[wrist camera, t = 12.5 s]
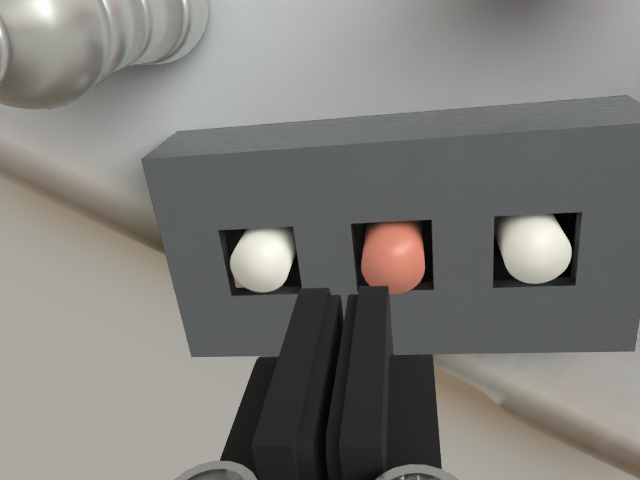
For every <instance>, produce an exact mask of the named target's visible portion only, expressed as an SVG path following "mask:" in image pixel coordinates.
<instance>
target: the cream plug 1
mask: <svg viewBox="0 0 640 480" xmlns="http://www.w3.org/2000/svg"><path fill="white" fill-rule="evenodd" d="M296 251H297V250H296V243H295V236H294V229H293V227H274V228H254V229H246V230H245V232H244V234H243V236H242V237H241V239H240V241H239V242H238V244H237V246H236V248H235V249H234V251H233V253H232V255H231V259H230V267H231V271H232V273H233V275H234V277H235V279H236V280H237V281H238V282H239V283H240V284H241V285H242V286H244V287H245V288H247V289H249V290H252V291H255V292H270V291H273V290H276V289H278V288H279V287H280V286H282V285H283V283H284V282H285V281H286V279H287V276H288V274H289V271H290V268H291V265H292V263H293V260H294V257H295V254H296Z"/></svg>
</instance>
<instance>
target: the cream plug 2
mask: <svg viewBox="0 0 640 480" xmlns="http://www.w3.org/2000/svg"><path fill="white" fill-rule="evenodd" d="M494 234H495V237H496V240H497V242H498V245H499V248H500V251H501V254H502V257H503V260H504V263H505V266H506V268H507V270H508V272H509V273H510V274H511V275H512V276H513V277H515V278H516V279H518V280H520V281H522V282H525V283H531V284H538V283H544V282H548V281H550V280H553V279H554V278H556V277H558V276H559V275H560V274H562V273H563V272H564V270H565V269H566V268H567V266H568V265H569V263H570V260H571V255H572V249H571V245H570V242H569V240H568V239H567V237H566V235H565V234H564V232H563V230H562V229H561V227H560V225H559V224H558V222H557V220H556V218H555V217H554V215H553V214H534V215H514V216H494Z"/></svg>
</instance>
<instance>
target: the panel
mask: <svg viewBox="0 0 640 480" xmlns="http://www.w3.org/2000/svg"><path fill="white" fill-rule="evenodd" d="M141 160H142V164H143V168H144V172H145V176H146V180H147V184H148V188H149V192H150V196H151V200H152V204H153V207H154V211H155V215H156V219H157V223H158V227H159V231H160V235H161V239H162V243H163V247H164V251H165V255H166V258H167V262H168V266H169V270H170V274H171V278H172V282H173V286H174V290H175V293H176V297H177V301H178V305H179V309H180V313H181V317H182V321H183V325H184V329H185V332H186V337H187V341H188V345H189V349H190V352H191V356H192V357H216V356H218V357H219V356H279V354H280V351H281V348H282V344H283V341H284V338H285V335H286V331H287V328H288V325H289V322H290V318H291V315H292V312H293V309H294V305H295V302H296V299H297V296H298V292H299V290H300V289H301V288H329V289H330V292H331V295H340V296H341V300H342V309H343V318H345V312H346V306H347V299H348V295H349V294H358V292H359V287H361V286H370V285H369V284H358V274H357V263H356V253H355V242H354V232H353V224H354V223H374V222H394V221H414V220H431V228H432V260H433V281H432V282H419V283H418V285H417V286H415V287H414V288H413V289H411V290H409V291H407V292H404V293H401V294H389V296H390V310H391V325H392V339H393V353H394V354H459V353H539V352H618V351H635V346H636V339H637V332H638V326H639V319H640V103H639V102H637V101H635V100H634V99H632V98H630V97H629V96H627V95H625V96H612V97H600V98H587V99H575V100H563V101H550V102H538V103H525V104H513V105H500V106H488V107H476V108H463V109H451V110H438V111H426V112H413V113H401V114H389V115H376V116H364V117H351V118H339V119H326V120H314V121H301V122H289V123H277V124H264V125H252V126H239V127H227V128H214V129H202V130H190V131H178V132H176V133H175V134H174V135H172V136H171V137H170V138H168V139H167V140H166V141H165V142H163V143H162V144H161V145H159V146H158V147H157V148H155V149H154V150H153V151H152V152H150V153H149V154H148V155H146V156H145V157H144V158H142V159H141ZM574 212H577V213H576V225H575V236H574V248H573V259H572V271H571V277H556V278H554V279H553V280H550V281H548V282H544V283H538V284H531V283H525V282H522V281H520V280H518V279H493V254H494V216H514V215H534V214H554V213H574ZM274 227H293V229H294V236H295V243H296V250H297V257H298V264H299V271H300V278H301V285H302V286H280V287H279V288H278V289H276V290H273V291H270V292H255V291H252V290H249V289H247V288H236V287H235V282H234V278H233V273H232V271H231V267H230V257H229V252H228V247H227V242H226V237H225V232H224V230H234V229H254V228H274Z"/></svg>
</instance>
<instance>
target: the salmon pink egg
mask: <svg viewBox="0 0 640 480" xmlns="http://www.w3.org/2000/svg"><path fill="white" fill-rule="evenodd" d="M361 270H362V274H363V276H364V278H365V280H366V281H367V283H368V284H369V285H370V286H388V287H389V294H401V293H404V292H407V291H409V290H411V289H413V288H414V287H415V286H417V285H418V283H419V282H420V281H421V279H422V277H423V275H424V271H425V260H424V247H423V234H422V221H421V220H414V221H394V222H374V223H367V225H366V232H365V240H364V247H363V255H362V263H361Z"/></svg>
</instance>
